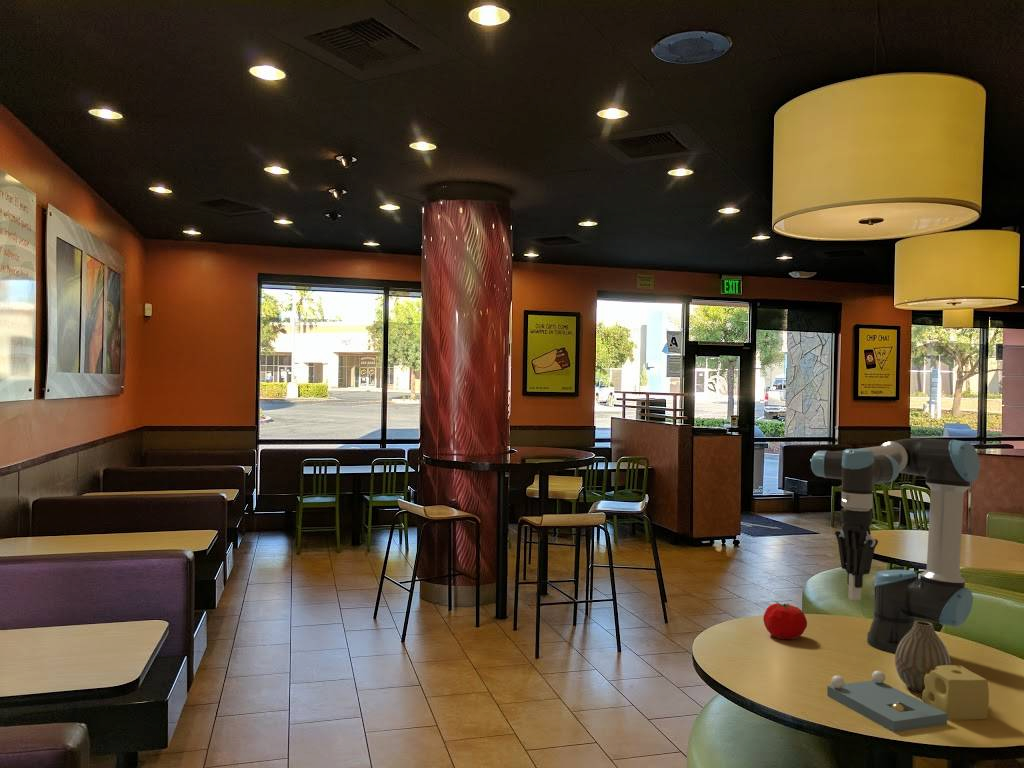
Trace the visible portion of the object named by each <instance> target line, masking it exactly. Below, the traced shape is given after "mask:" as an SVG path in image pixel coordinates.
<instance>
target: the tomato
mask: <svg viewBox="0 0 1024 768" xmlns="http://www.w3.org/2000/svg"><path fill="white" fill-rule="evenodd" d="M774 601H775V603H773V604H770V605H768V607H766V609H765V611H764V613H763V618H762V619H763V620H762V621H763V624H764V627H765V628H766V631H767V632H769V634H770V635H771V636H773V637H775V638H777V639H781V640H794V639H797V638H799V637H800V636H802V635H803V634H804V633H805V630H806V629H807V626H808V621H807V617H806V615H805V613H804V611H802V609H800V608H799V607H798V606H794V605H791V604H790V603H787V604H786V603H783V604H782V603H779V602H777V601H776V600H774Z"/></svg>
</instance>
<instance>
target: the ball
mask: <svg viewBox="0 0 1024 768" xmlns="http://www.w3.org/2000/svg"><path fill="white" fill-rule="evenodd" d="M891 707H892V708H894V709H896V710H897V711H899V712H905V708H904V706H903V705H901V704H900V703H894V704H892V706H891Z"/></svg>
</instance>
